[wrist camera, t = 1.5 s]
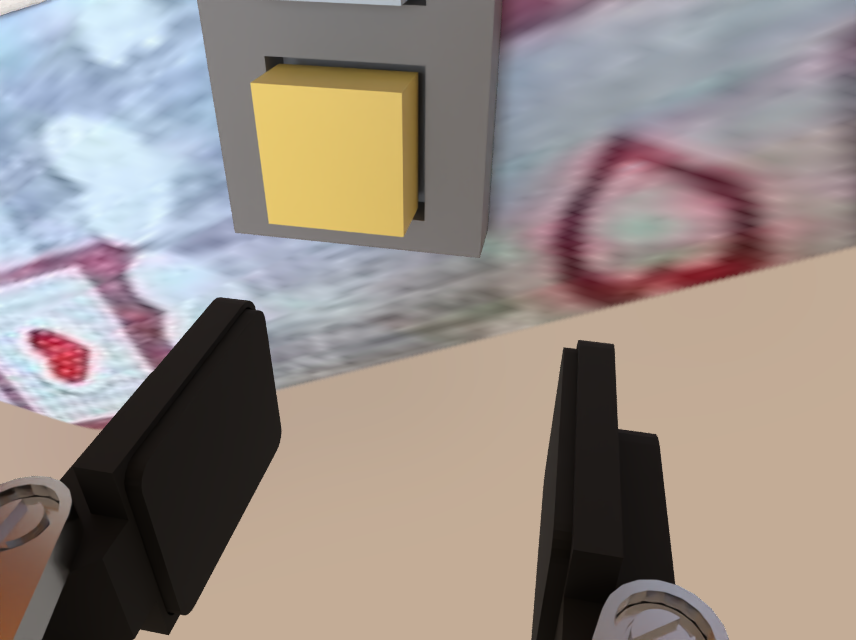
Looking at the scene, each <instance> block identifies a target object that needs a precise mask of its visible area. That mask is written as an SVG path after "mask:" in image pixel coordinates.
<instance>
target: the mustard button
mask: <svg viewBox="0 0 856 640" xmlns="http://www.w3.org/2000/svg"><path fill="white" fill-rule="evenodd" d="M250 84H251V92H252V100H253V107H254V115H255V122H256V130H257V137H258V145H259V153H260V160H261V168H262V175H263V183H264V191H265V198H266V206H267V213H268V221H269V224H277V225H287V226H297V227H307V228H317V229H327V230H337V231H347V232H357V233H367V234H377V235H387V236H397V237H404V235H405V233H406V231H407V229H408V227H409V225H410V223H411V221H412V219H413V217H414V215H415V213H416V211H417V209H418V72H407V71H391V70H374V69H358V68H342V67H326V66H310V65H294V64H278V65H276V66H275V67H273V68H272V69H270V70H269V71H267V72H266V73H264V74H263V75H261V76H260V77H258V78H257V79H255V80H254V81H252V82H251V83H250Z"/></svg>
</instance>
